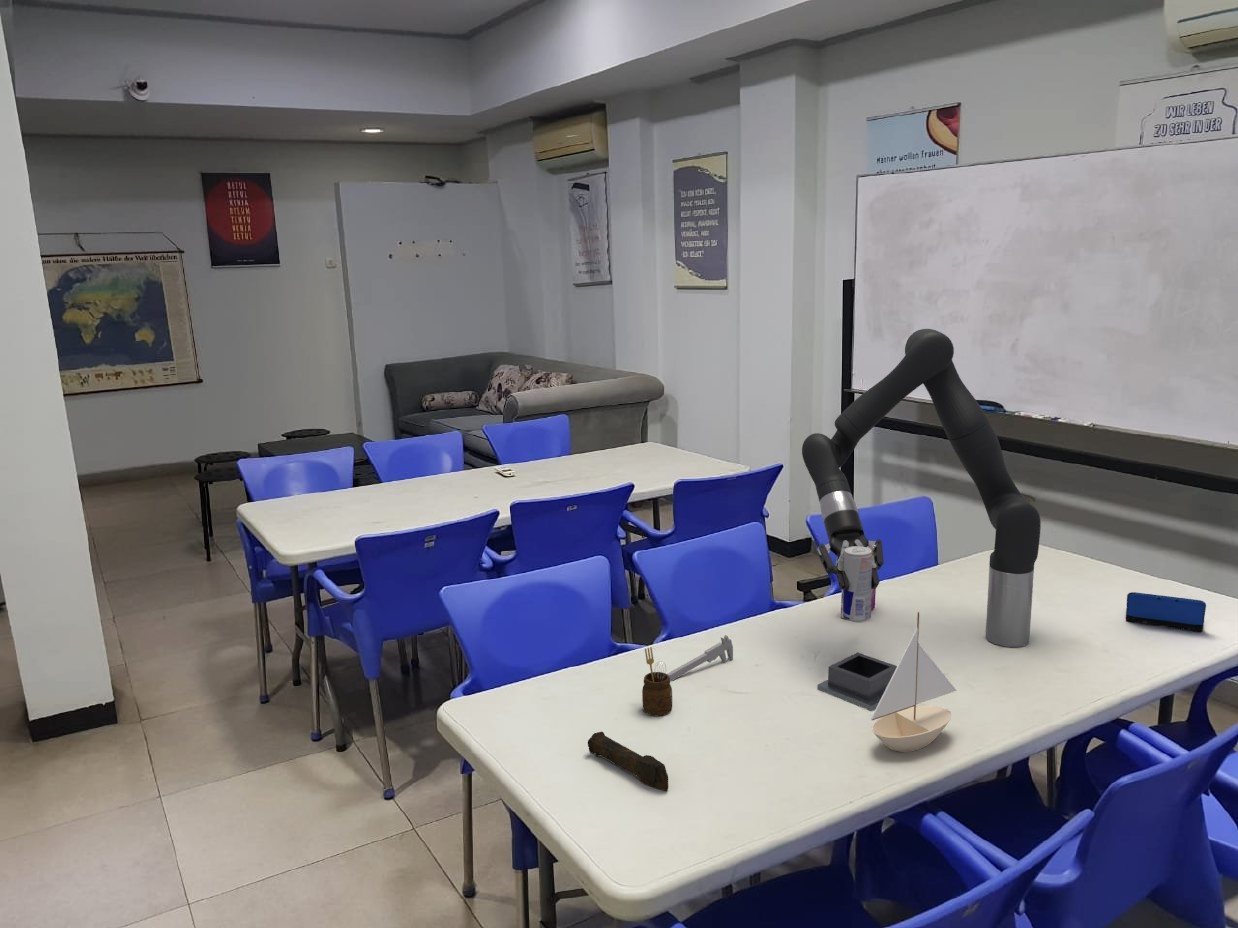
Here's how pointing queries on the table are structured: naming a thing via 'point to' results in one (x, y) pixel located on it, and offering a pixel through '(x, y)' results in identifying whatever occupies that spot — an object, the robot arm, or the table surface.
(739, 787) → the table surface
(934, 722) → the toy sailboat
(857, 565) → the beverage can
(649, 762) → the hand tool
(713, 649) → the caliper
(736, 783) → the table surface
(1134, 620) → the handheld game console
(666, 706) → the utensil holder
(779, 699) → the table surface
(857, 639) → the table surface
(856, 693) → the dark grey square holder
